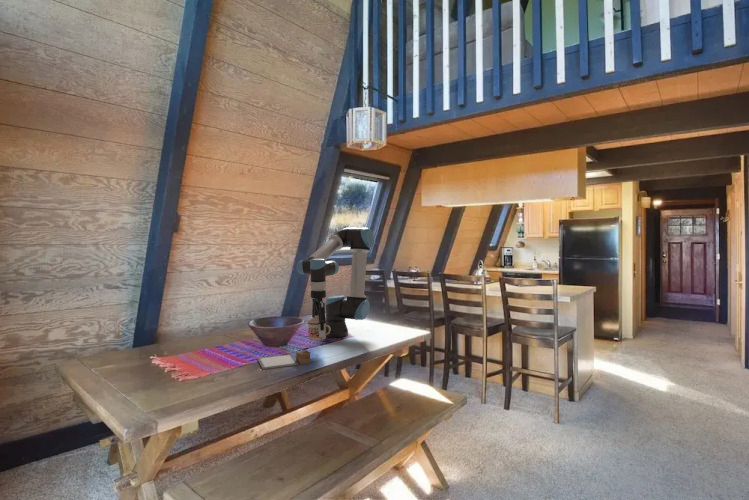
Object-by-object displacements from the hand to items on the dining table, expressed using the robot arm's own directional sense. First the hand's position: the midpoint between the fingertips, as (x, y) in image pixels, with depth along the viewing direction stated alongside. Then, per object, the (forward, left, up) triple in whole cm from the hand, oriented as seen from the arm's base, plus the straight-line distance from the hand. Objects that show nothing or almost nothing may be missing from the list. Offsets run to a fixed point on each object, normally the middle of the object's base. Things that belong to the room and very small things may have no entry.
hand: (318, 334), depth 208 cm
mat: (+4, -21, -10) cm, 24 cm away
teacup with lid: (+1, 0, -2) cm, 3 cm away
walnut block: (+9, -10, -10) cm, 18 cm away
